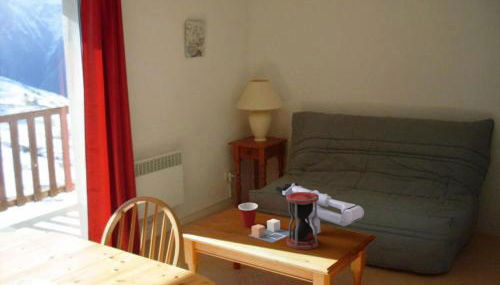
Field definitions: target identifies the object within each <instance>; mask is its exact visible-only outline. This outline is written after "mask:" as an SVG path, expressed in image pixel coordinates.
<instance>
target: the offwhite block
mask: <svg viewBox="0 0 500 285" xmlns="http://www.w3.org/2000/svg"><path fill="white" fill-rule="evenodd" d="M266 226H267V227H266V228H267V230H269V231H273V232H275V231H278V230H280V229H281V221H280V219H279V220H278V219H276V218H271V219H269V220H267V221H266Z"/></svg>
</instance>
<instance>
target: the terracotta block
mask: <svg viewBox="0 0 500 285" xmlns="http://www.w3.org/2000/svg"><path fill="white" fill-rule="evenodd" d="M265 229H266V225H263V224H254V226H252V227H251V234H252V236H254V237H253V238H255V237H258V238H259V237H262V236H265ZM258 238H257V239H258Z"/></svg>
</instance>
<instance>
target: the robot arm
mask: <svg viewBox="0 0 500 285" xmlns="http://www.w3.org/2000/svg"><path fill="white" fill-rule="evenodd" d="M275 191H277V192H278V193H279V195H280V196H281V197H283V198H285V197H286V196H287V195H288V194H290V193H294V192H311V193H315V194H317V195H318V196H319V200H318V201H317V216H316V218H315V219H314V224H315V226H316V228H317V234H319V233H321V232H322V230H321V220H324V221H327V222H330V223H333V224H335V225H338V226H342V227H347V226H348V225H350V224H353V223H356V222H357V221H360V220H361V219H362V217H364V214H365V210H364V209H363V207H362V206H360V205H356V203H350V202H346V201H341V200H336V199H332V197H331V196H330V195H328V193H320V191H318V190H317V189H314V190H311V189H309V188H305V187H303V186H301V185H299V184H298V182H295V183H294V182H293V183H285V184H284V186H280V185H279V186H275ZM321 206H322V207H321ZM329 206H330V207H333V208H335V209H338V210H340V212H341V213H338V212H335V211H331V210H329V209H326V208H323V207H329ZM314 215H315V202H314V203H313V211H312V213H311V214H310V215H309V221H310V226H311V227H312V229H313V236H315V229H314V227H313V226H312V223H311V221H312V218H313V217H314ZM320 219H321V220H320ZM305 221H306V222H307V220H306V219H305ZM307 223H308V222H307Z"/></svg>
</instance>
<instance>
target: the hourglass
mask: <svg viewBox="0 0 500 285" xmlns="http://www.w3.org/2000/svg"><path fill="white" fill-rule="evenodd" d="M285 197H286V201H287V202H288V212H289V215H290V216H291V219H290V222H289V224H288V231H289V236H288V237H287V239H286V245H287V246H288V247H290V248H291V249H296V250H312V249H315V248H317V247H318V246H319V245H320V240H319V239H318V233H317V228H316V226H315V224H314V219H315V218H316V216H317V205H318V204H317V201H318V200H319V196H318V195H317V194H315V193H311V192H294V193H290V194H288V195H285ZM314 202H315V215H314V217H313V218H312V221H311V223H312V226H313V227H314V229H315V235H313V229H312V227H311V226H310V221H309V215H310V214H311V213H312V211H313V203H314ZM305 219H306V220H307V222H308V223H307V222H306V221H305ZM294 221H296V223H295V225H294V227H293V228H292V224H293V223H294ZM291 232H292V235H291Z"/></svg>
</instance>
